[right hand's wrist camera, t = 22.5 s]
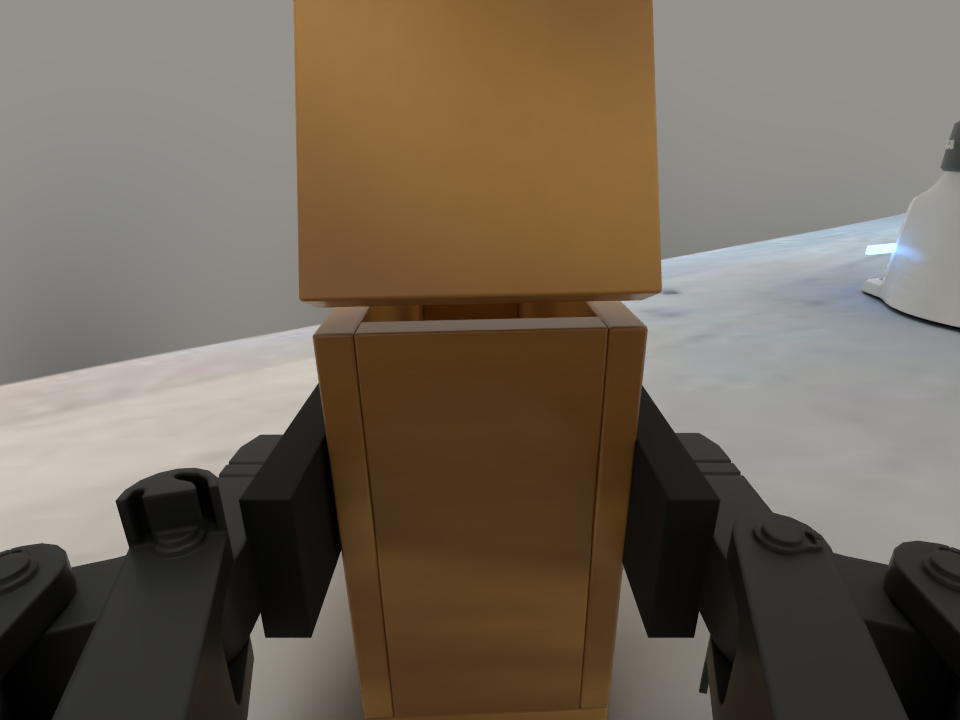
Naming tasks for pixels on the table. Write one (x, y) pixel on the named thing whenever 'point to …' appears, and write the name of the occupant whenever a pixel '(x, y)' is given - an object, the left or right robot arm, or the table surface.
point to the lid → (476, 152)
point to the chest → (482, 501)
